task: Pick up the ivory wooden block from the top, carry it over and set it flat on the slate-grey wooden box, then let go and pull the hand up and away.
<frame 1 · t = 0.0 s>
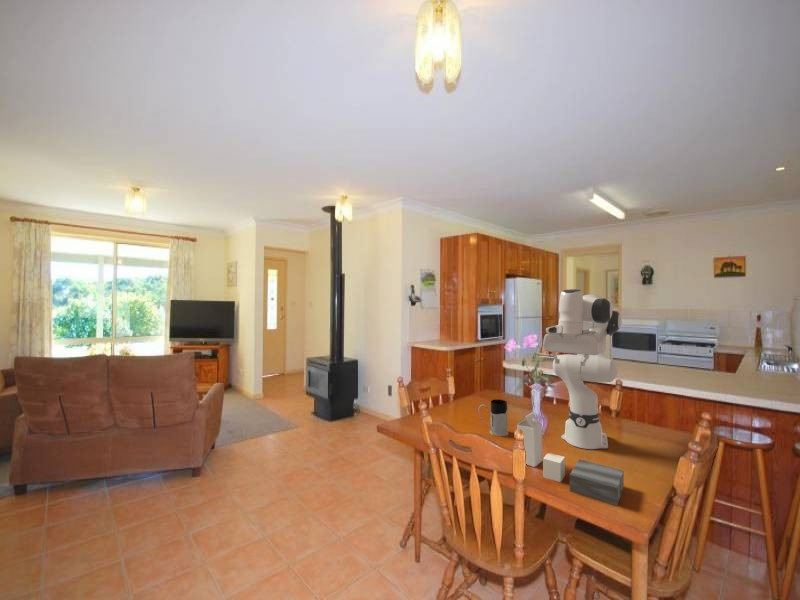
hand: (569, 364, 142), 39 cm above the table, tool pointing down, fingers open, 8 cm apart
milk carton: (529, 462, 144), on the table
ivory block: (554, 476, 132), on the table
slate box: (596, 489, 123), on the table
grey mug: (493, 433, 174), on the table
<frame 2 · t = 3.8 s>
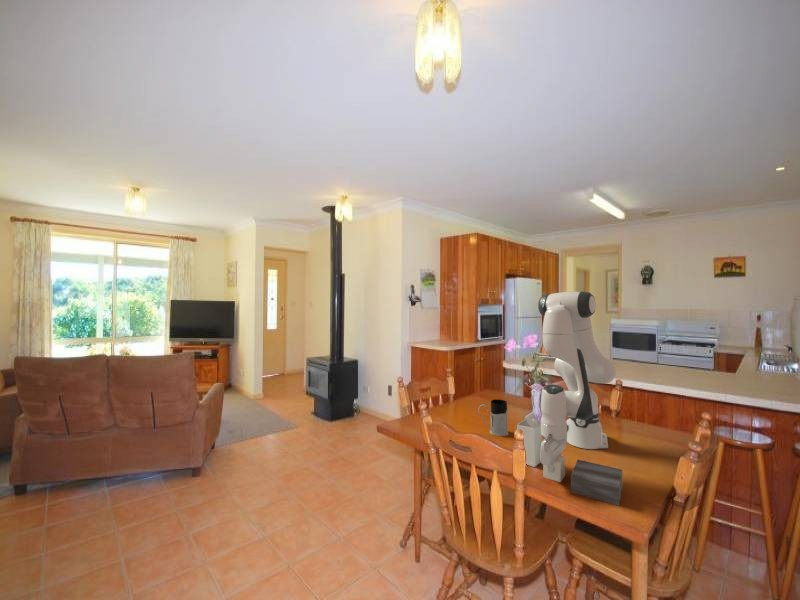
hand: (553, 467, 132), 3 cm above the table, tool pointing down, fingers closed on ivory block, 6 cm apart
ivory block: (554, 476, 132), on the table, touching gripper
everything else where it was.
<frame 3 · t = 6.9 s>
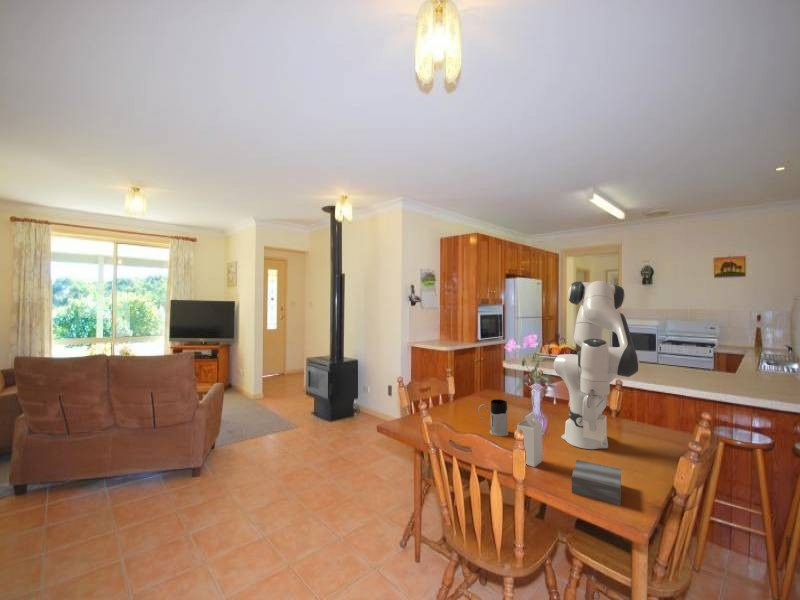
hand: (594, 427, 123), 21 cm above the table, tool pointing down, fingers closed on ivory block, 6 cm apart
ivory block: (594, 436, 123), point 18 cm above the table, touching gripper
everything else where it was.
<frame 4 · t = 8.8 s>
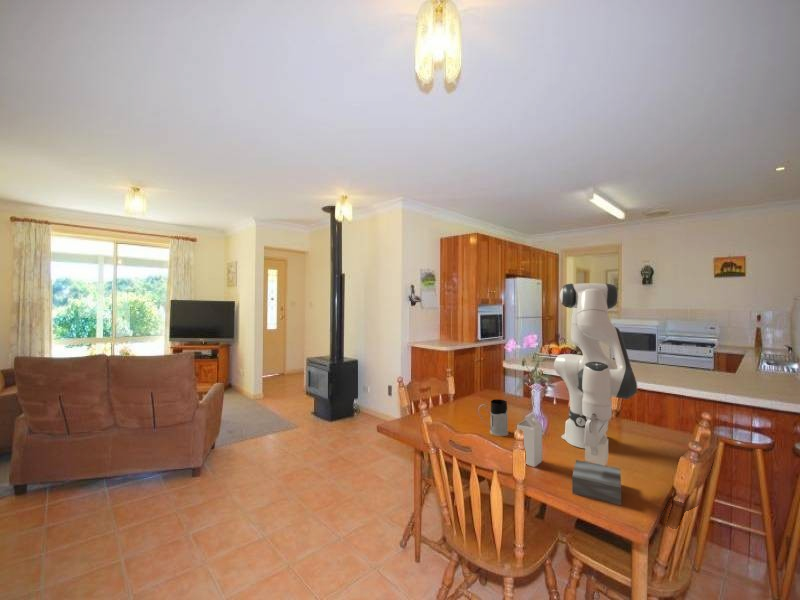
hand: (596, 450, 123), 13 cm above the table, tool pointing down, fingers closed on ivory block, 6 cm apart
ivory block: (596, 459, 123), point 10 cm above the table, touching gripper
everything else where it was.
when the fingers open (10 cm above the table, at t = 10.1 s): ivory block drops 1 cm, point 6 cm above the table.
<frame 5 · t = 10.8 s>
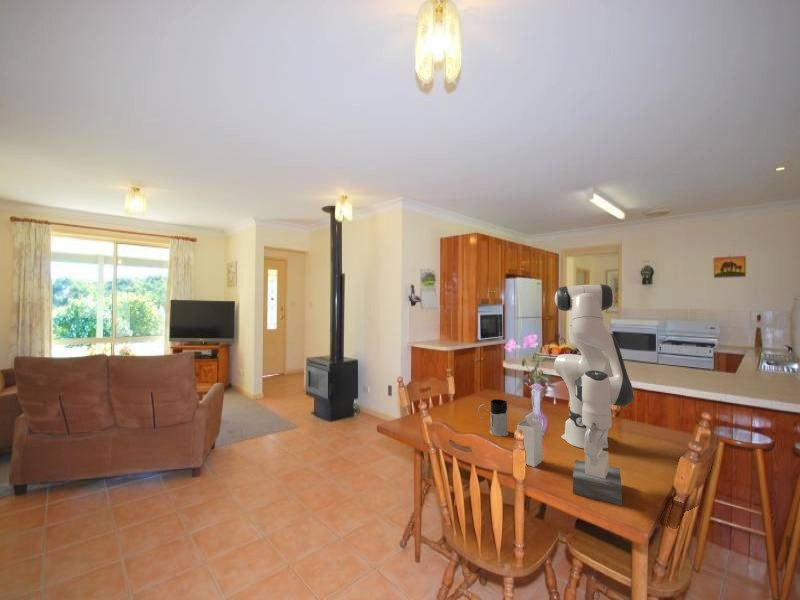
hand: (596, 459, 123), 10 cm above the table, tool pointing down, fingers open, 8 cm apart
ivory block: (596, 472, 123), point 6 cm above the table
everything else where it was.
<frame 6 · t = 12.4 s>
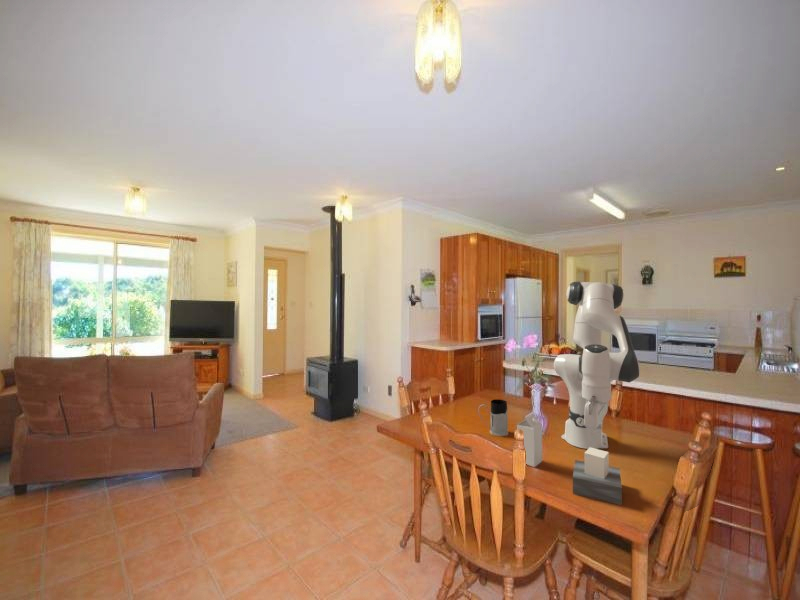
hand: (596, 433, 123), 19 cm above the table, tool pointing down, fingers open, 8 cm apart
ivory block: (596, 472, 123), point 6 cm above the table, touching slate box
slate box: (596, 490, 124), on the table, touching ivory block
everything else where it was.
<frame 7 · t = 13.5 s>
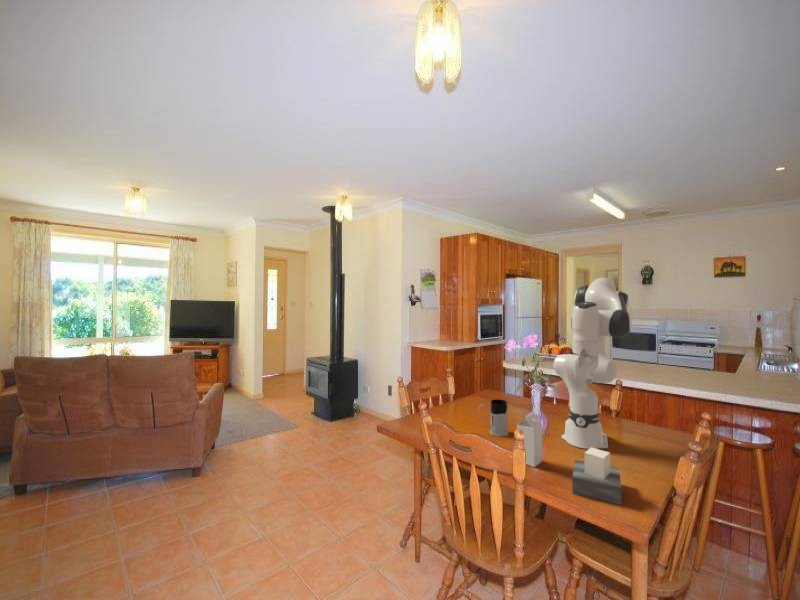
hand: (586, 386, 128), 34 cm above the table, tool pointing down, fingers open, 8 cm apart
ivory block: (597, 472, 123), point 6 cm above the table
slate box: (596, 489, 124), on the table
everything else where it was.
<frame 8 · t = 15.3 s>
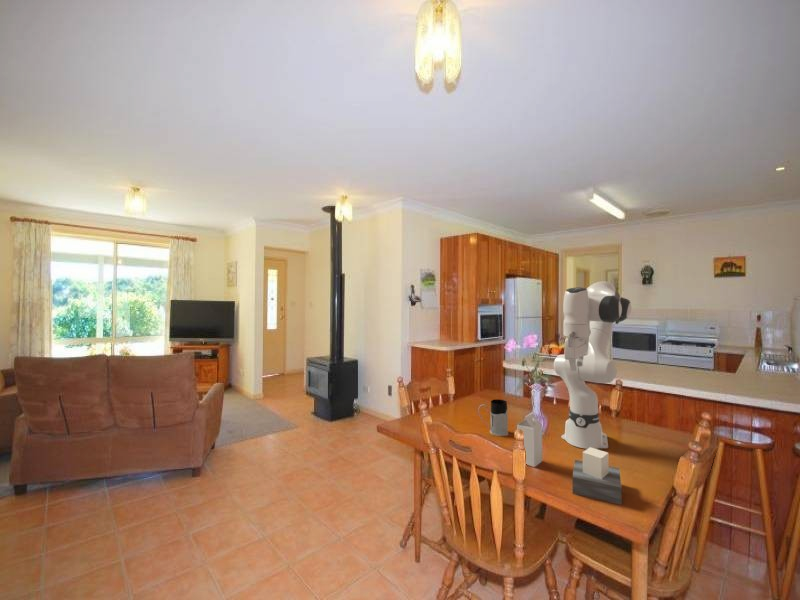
hand: (576, 368, 134), 39 cm above the table, tool pointing down, fingers open, 8 cm apart
ivory block: (595, 472, 123), point 6 cm above the table, touching slate box
slate box: (596, 489, 124), on the table, touching ivory block
everything else where it was.
at the end: ivory block inside the target area on the slate box (0.4 cm from its centre), point 6.0 cm above the slate box's base; ivory block tilted 0°; ivory block touching slate box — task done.
